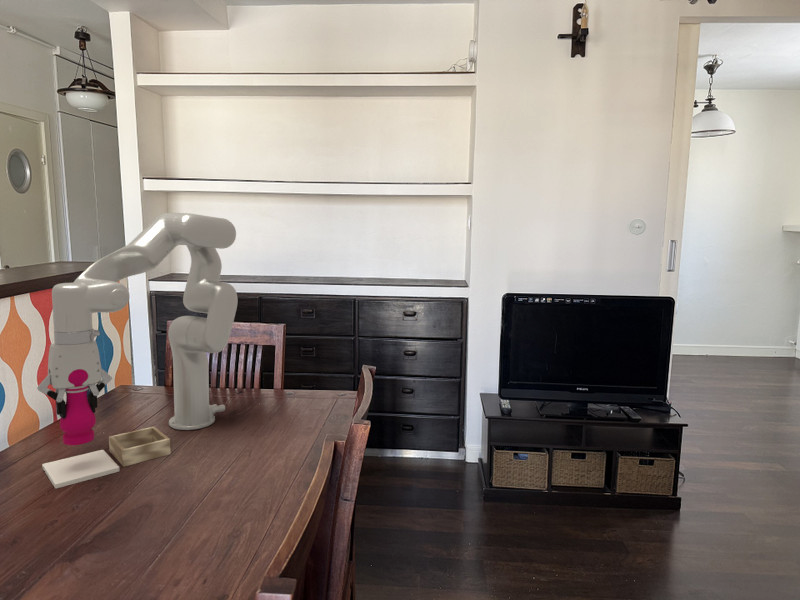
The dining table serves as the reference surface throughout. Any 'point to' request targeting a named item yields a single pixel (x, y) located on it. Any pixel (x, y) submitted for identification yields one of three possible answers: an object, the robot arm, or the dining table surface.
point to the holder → (139, 446)
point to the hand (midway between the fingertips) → (77, 413)
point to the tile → (79, 468)
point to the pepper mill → (77, 411)
